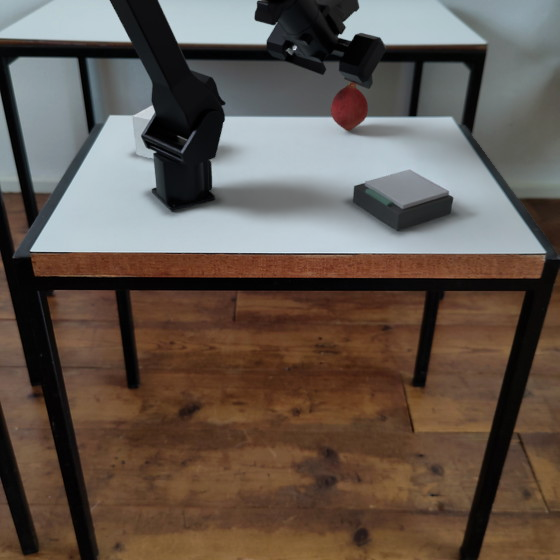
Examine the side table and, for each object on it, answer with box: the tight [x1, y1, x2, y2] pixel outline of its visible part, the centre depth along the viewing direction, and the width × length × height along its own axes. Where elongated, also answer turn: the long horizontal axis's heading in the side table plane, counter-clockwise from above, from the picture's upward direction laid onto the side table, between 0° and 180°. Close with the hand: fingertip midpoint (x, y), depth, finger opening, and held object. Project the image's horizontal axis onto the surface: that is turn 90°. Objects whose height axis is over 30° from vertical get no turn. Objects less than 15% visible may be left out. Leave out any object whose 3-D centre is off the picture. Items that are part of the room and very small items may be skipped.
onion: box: [330, 81, 369, 132], centre depth 110 cm, size 6×6×8 cm
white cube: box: [131, 104, 186, 160], centre depth 102 cm, size 6×6×6 cm
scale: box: [352, 169, 454, 232], centre depth 89 cm, size 9×9×3 cm
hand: (346, 78), depth 106 cm, fingers open, 9 cm apart
